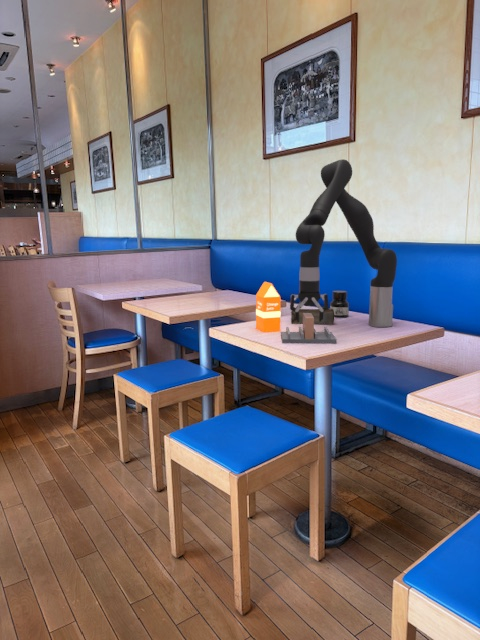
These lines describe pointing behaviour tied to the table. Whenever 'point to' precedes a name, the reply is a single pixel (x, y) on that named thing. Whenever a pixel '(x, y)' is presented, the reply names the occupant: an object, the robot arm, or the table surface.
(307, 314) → the wooden block
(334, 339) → the rack
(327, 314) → the weathered grey box
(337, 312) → the ink bottle
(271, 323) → the orange juice
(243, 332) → the table surface
